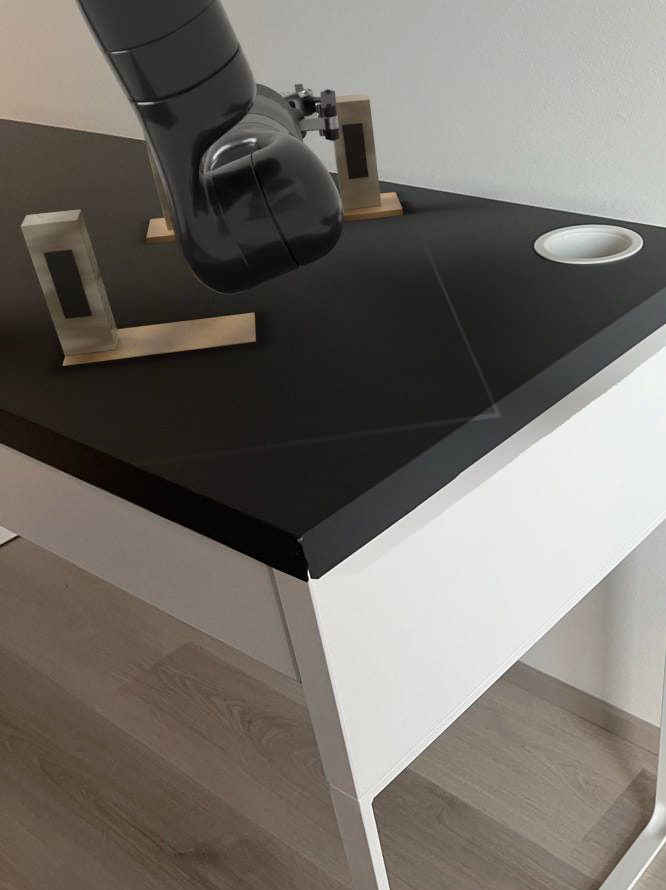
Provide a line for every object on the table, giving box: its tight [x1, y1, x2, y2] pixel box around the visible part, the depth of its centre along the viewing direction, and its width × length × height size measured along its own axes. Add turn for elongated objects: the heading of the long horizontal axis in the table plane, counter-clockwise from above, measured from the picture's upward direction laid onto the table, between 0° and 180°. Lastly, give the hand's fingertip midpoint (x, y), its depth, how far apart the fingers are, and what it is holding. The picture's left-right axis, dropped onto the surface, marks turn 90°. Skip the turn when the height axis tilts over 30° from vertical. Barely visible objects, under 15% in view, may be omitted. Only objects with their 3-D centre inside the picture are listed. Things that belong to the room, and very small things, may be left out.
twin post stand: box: [142, 93, 404, 245], centre depth 100 cm, size 26×6×11 cm, turn 101°
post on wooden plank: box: [20, 208, 257, 367], centre depth 77 cm, size 15×6×11 cm, turn 101°
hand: (251, 101), depth 87 cm, fingers open, 8 cm apart
